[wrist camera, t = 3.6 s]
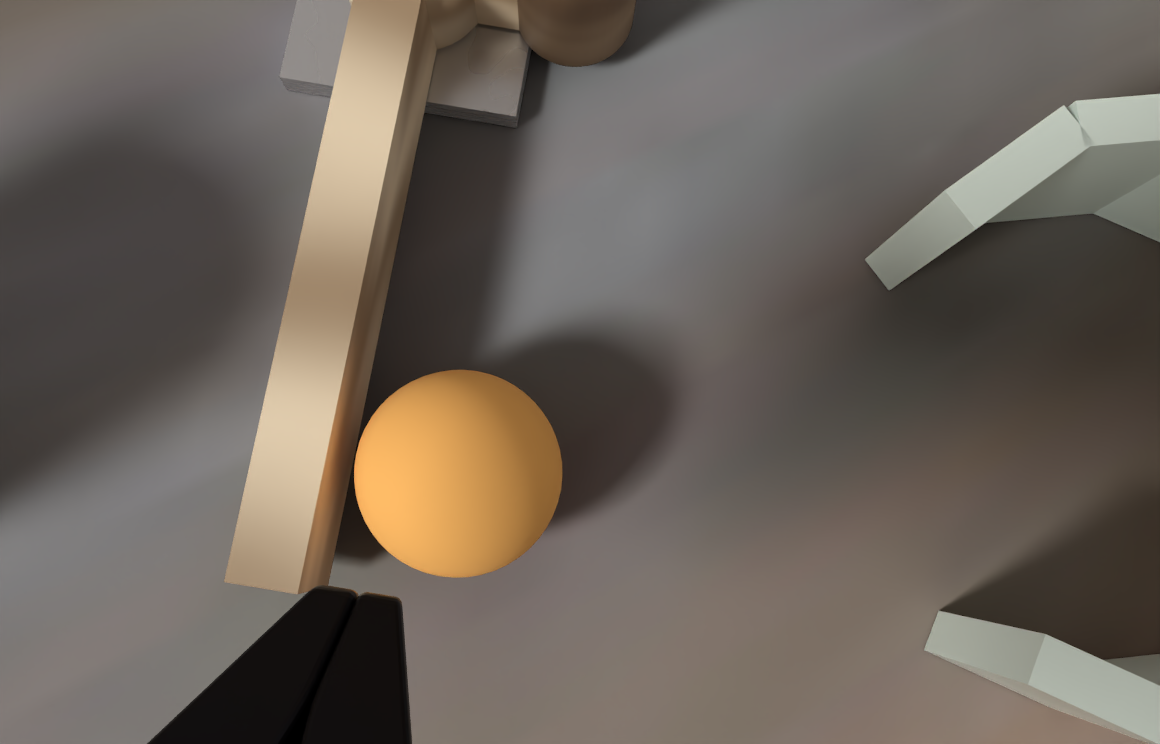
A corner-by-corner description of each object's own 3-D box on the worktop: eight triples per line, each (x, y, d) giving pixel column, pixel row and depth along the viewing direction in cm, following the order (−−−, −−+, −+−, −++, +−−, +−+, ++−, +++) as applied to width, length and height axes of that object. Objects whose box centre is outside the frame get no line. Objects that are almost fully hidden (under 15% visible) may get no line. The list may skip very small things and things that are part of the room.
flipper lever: (364, -89, 24) (116, -894, 11) (643, -43, 24) (760, -786, 11) (217, 568, 22) (-377, 640, 8) (532, 620, 22) (496, 785, 8)
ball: (598, 499, 23) (608, 492, 18) (444, 611, 22) (417, 631, 18) (491, 350, 23) (477, 308, 19) (338, 456, 23) (287, 439, 18)
